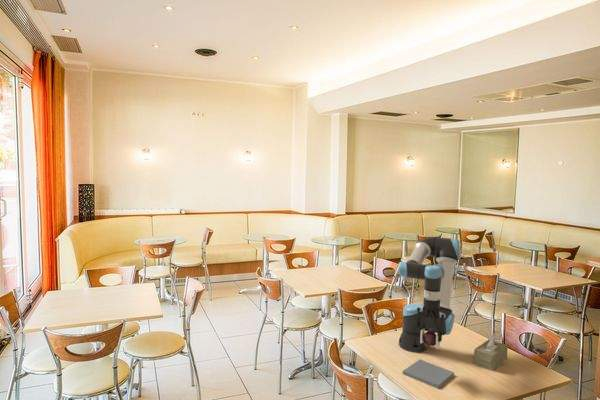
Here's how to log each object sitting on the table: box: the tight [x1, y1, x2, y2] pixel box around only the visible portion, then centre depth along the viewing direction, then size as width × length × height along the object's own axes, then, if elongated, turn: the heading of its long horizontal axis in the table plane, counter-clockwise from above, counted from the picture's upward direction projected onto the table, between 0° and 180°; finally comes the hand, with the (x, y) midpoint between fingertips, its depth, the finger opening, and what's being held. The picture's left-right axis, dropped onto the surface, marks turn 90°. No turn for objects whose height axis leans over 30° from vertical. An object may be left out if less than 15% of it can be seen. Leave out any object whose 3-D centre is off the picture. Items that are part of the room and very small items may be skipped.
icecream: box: [423, 329, 437, 347], centre depth 192 cm, size 7×7×15 cm
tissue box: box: [473, 332, 508, 372], centre depth 207 cm, size 19×10×16 cm, turn 133°
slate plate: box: [402, 359, 455, 389], centre depth 193 cm, size 18×17×2 cm
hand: (429, 344), depth 192 cm, fingers closed on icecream, 7 cm apart
